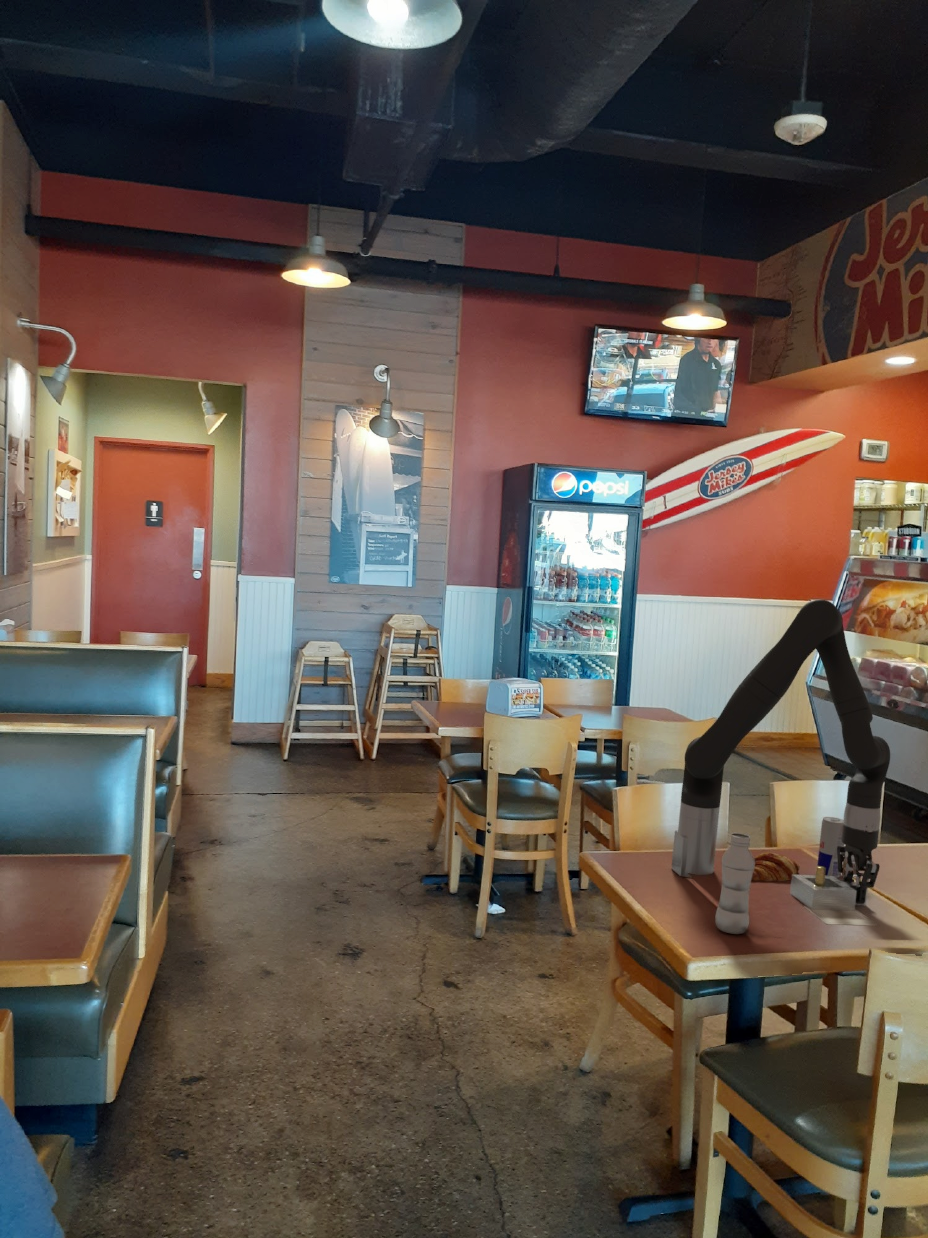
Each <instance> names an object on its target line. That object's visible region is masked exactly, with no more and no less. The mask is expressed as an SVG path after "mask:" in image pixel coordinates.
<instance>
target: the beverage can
mask: <svg viewBox="0 0 928 1238" xmlns="http://www.w3.org/2000/svg"><path fill="white" fill-rule="evenodd" d="M843 819H844V818H839V817H834V816H823V817H822V820H821V826H820V827H821V828H820V835H819V836H820V838H819V847H818V855H817V856H818V858H817V865H816V866H822V867H825V868H826V871H825V876H834V877H835V878H837V879H838V878H840V877H841V878H842V873H839V872H838V858H837V847H838V846H845V844H844V843H842V841H841V838H842V829H843Z"/></svg>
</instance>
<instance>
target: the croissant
mask: <svg viewBox="0 0 928 1238" xmlns="http://www.w3.org/2000/svg"><path fill="white" fill-rule="evenodd" d="M754 860H755V868H754V871H753V875H752V879H751V881H753V882H754V881H756V882H757V881H762V882H776V881H777V882H781V881H783V882H785V881H791V879H792V874H794V875H798V873H799V871H800V868H801V865H800V863H799V862H796V861H795V860H794V859H792V858H788V857H787V856H785V855H783V854H782V855H781V854H777V853H775V852H763V853H760V854H758V855H756V856H755V857H754Z"/></svg>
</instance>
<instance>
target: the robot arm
mask: <svg viewBox="0 0 928 1238" xmlns="http://www.w3.org/2000/svg"><path fill="white" fill-rule="evenodd" d="M843 620H844V619H843V615H842V613H841V611H840V609H838V607H837V606H836V604H834V603H833V602H831V601H829V600H826V599H823V598H821V599H819V598H818V599H813V600H810V601H808V602H807V603H805V604H804V605H803V606H802V607H801V608H800V610H798V613H797V614H796V616H795V617H794V619H793V620H792V622H791V623H790V625H789V627H788V628H786V630H785V632H784V634H783V635H782V636H781V638H780V639H779V640H778V641H777V643H776V644H775V645H774V646H773V647H772V648H771V649H770V650H769V651H768V652H767V653H766V654H765V655H764V656H763V657H762V658H761V660H759V662H758V663H757V664H755V666H753V667H754V668H752V669H751V670H750V672H749V673H748V674H747V676H746V677H744V679H743V680H742V681H741V683H740V684H739V685H738V686H737V688H736V689H735V690H734V692H733V693H732V695H731V696H730V698H729V699H728V701H727V703H726V704H725V706H724V707H723V710H722V711H721V713H720V715H719V716H718V717H717V719H716V720H715V721H714V722H713V724H712V725H711V726H710V727H708V729H707V730H706V731H705V732H704V733H703V734H702V735H701V736H698V737H696V738H694V739H692V740H691V741H690V742H689V744H688V745H687V747H686V750H685V753H684V768H683V778H682V779H683V780H682V787H681V796H680V806H679V807H680V808H679V817H678V827H677V830H675V831H674V836H673V848H672V856H671V857H672V858H671V869H672V871H674V873H676V874H677V875H678V876H679V877H684V878H685V877H686V878H691V879H693V877H692V875H699V876H706V875H707V876H708V875H712V874H713V873H714V870H715V862H716V861H715V858H716V848H717V838H718V828H719V826H718V825H719V817H720V809H721V808H720V807H721V799H722V788H723V778H724V777H723V776H724V767H725V765H726V763H727V762H728V760H729V758H730V756H732V754H733V753H734V751H735V750H736V748H737V747H738V745H739V744H740V742H742V740H743V739H744V738H745V737H746V736H747V735H748V734H750V732H752V730H753V729H754V728H755V727H757V726H758V724H759V723H760V722H761V721H763V720H764V718H766V716H767V715H768V714H769V713H770V712H771V711H772V710H773V709H774V707H775V706H776V705H777V704H778V703H779V702H780V700H781V699H782V698H783V697H784V695H785V694H786V693H787V691H788V690H789V688H790V687H791V685H792V683H793V682H794V680H795V678H796V676H797V675H798V672H799V671H800V669H801V667H802V665H803V664H804V663H805V661H806V660H807V659H808V657H809V656H810V655H811V654H812V653H813V652H814V651H815V650H816V652H817V654H818V655H819V658H820V660H821V661H820V662H821V663H822V666H823V669H824V672H825V676H826V681H827V684H828V689H829V692H830V695H831V699H832V700H831V701H832V702H833V706H834V708H835V711H836V715H837V718H838V719H839V722H840V725H841V734H842V740H843V747H844V751H845V754H846V756H847V758H848V760H849V762H850V763H851V764H852V765H853V766H854V767H856V769H855V773H854V776H853V777H851V779H850V780H849V782H848V786H847V795H846V803H845V806H844V813H843V818H842V819H843V829H842V838H841V841H842V843H844V846H838V847H837V858H838V872H839V873H841V878H843V880H842V882H856V887H855V890H856V901H855V903H857V904H864V903H865V899H866V898H865V897H866V890H867V888H868V889H869V888H874V887H875V884H876V880H877V877H878V873H879V871H880V863H874V860H873V856H872V851H873V850H875V849H877V848H878V846H879V845H878V844H879V833H880V826H881V806H882V805H881V802H882V793H883V786H884V783H885V780H886V777H887V775H888V770H889V767H890V762H891V750H890V746H889V743H888V742H887V741H886V739H884V738H882V737H880V736H877V735H873V731H872V727H871V723H872V721H873V718H874V717H873V712H872V709H871V705H870V704H869V701H868V699H867V696H866V692H865V691H864V688H863V685H862V682H861V681H860V679H859V677H858V674H857V671H856V669H855V666H854V664H853V662H852V658H851V655H850V652H849V649H848V646H847V645H848V644H847V640H846V635H845V629H844V621H843ZM861 877H862V878H861ZM854 878H855V879H854Z"/></svg>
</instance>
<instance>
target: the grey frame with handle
mask: <svg viewBox="0 0 928 1238" xmlns="http://www.w3.org/2000/svg"><path fill="white" fill-rule="evenodd" d="M855 887H856V881H854V882H843V880H842V881H841V880H840V879H838V878H835V877H834V876H825V881H824V887H818V886H816V885H815V875H814V874H796V875H794V874H792V879H791V880H790V892H789V894H790V895H791V896H793V897H794V898H795V899H797V900H798V901H799V902H801V903H802V904H804V906H808V907H809V908H810V909H812V910H839V911H855V909H856V906H867V899H868V891H869V890H868V889H869V888H867V890H866V897H865V898H866V899H865V903H864V904H857V903H855V901H856V890H855Z"/></svg>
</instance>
